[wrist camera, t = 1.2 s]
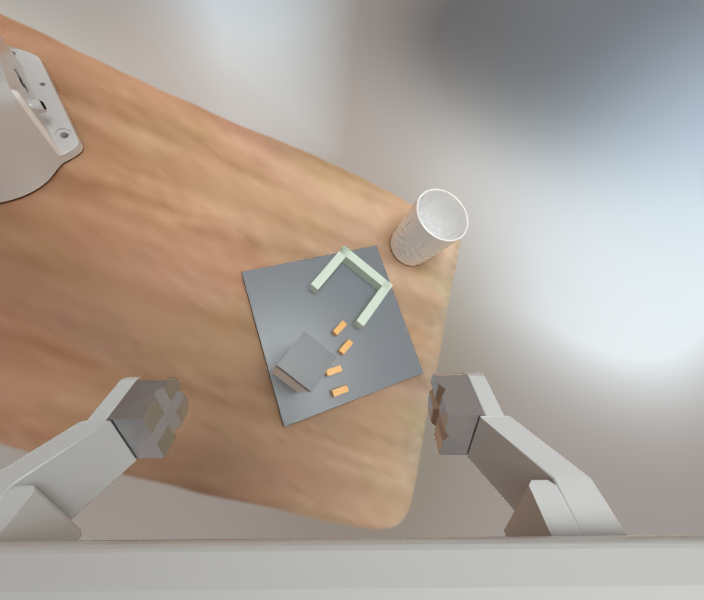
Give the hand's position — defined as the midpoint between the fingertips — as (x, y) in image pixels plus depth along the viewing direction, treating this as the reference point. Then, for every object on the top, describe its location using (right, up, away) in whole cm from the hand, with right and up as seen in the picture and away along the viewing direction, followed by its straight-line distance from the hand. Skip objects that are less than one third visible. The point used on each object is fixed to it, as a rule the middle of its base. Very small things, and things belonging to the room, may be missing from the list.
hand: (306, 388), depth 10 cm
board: (-1, -1, +33) cm, 33 cm away
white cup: (+11, +11, +41) cm, 44 cm away
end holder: (+1, +4, +35) cm, 35 cm away
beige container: (-6, -6, +29) cm, 30 cm away
